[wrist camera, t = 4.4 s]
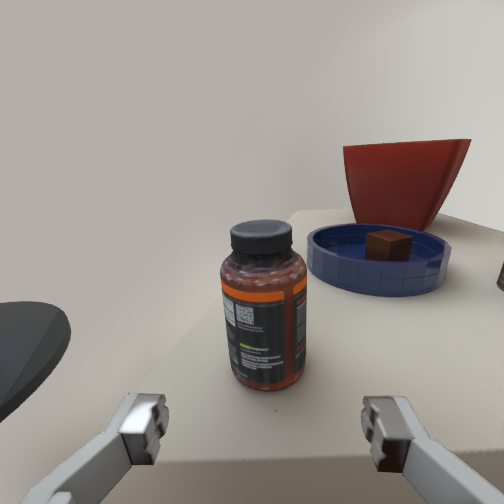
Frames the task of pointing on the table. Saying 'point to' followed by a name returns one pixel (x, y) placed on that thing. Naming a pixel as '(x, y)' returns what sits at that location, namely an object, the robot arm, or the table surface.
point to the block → (388, 246)
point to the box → (501, 279)
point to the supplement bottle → (265, 305)
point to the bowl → (376, 272)
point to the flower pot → (402, 180)
